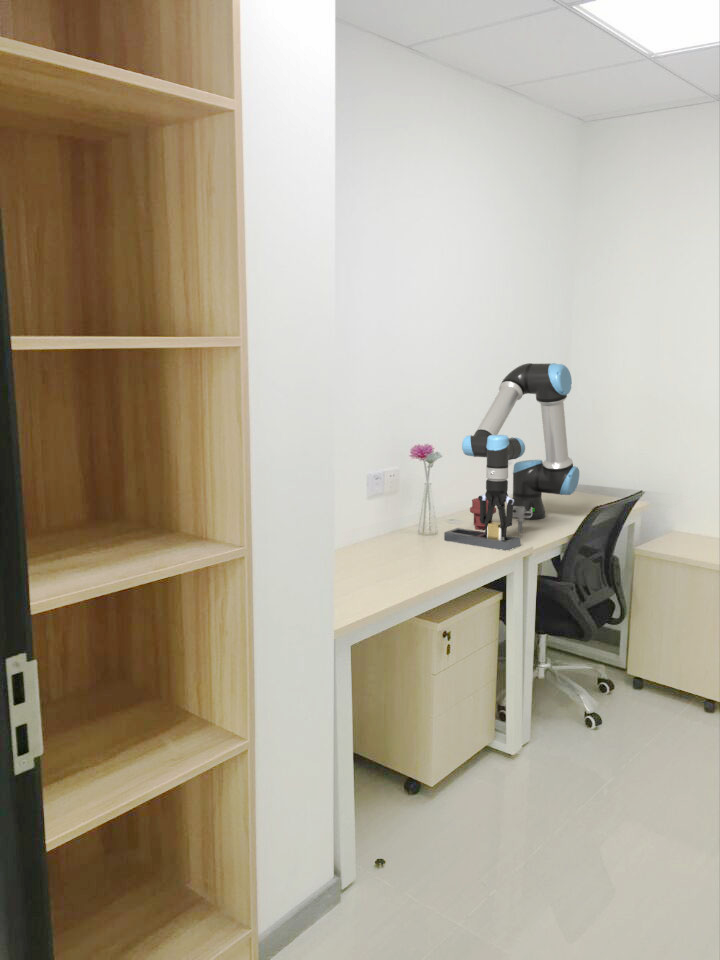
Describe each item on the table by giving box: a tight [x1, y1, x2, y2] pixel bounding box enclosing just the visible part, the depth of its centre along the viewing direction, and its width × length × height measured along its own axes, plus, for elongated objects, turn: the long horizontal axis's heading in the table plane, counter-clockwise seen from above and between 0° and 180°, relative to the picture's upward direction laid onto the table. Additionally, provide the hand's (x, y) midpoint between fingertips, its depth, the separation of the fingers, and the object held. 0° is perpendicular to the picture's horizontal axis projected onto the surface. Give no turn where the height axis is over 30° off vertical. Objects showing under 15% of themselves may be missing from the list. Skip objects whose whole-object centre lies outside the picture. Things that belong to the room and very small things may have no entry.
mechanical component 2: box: [469, 497, 497, 531], centre depth 322 cm, size 12×10×10 cm
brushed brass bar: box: [488, 521, 501, 540], centre depth 296 cm, size 4×4×8 cm
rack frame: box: [443, 527, 521, 551], centre depth 300 cm, size 9×26×3 cm, turn 51°
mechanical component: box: [512, 506, 535, 534], centre depth 315 cm, size 3×10×10 cm, turn 79°
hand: (495, 544), depth 296 cm, fingers closed on brushed brass bar, 4 cm apart
